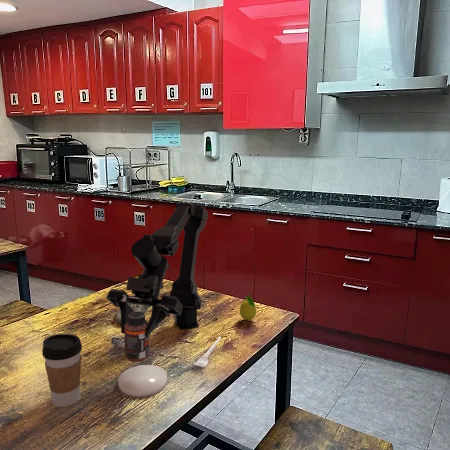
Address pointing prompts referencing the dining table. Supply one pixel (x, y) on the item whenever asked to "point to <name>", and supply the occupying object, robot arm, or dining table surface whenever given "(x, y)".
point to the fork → (206, 355)
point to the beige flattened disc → (142, 381)
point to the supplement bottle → (136, 338)
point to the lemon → (248, 308)
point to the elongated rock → (135, 307)
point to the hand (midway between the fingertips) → (134, 334)
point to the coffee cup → (63, 367)
